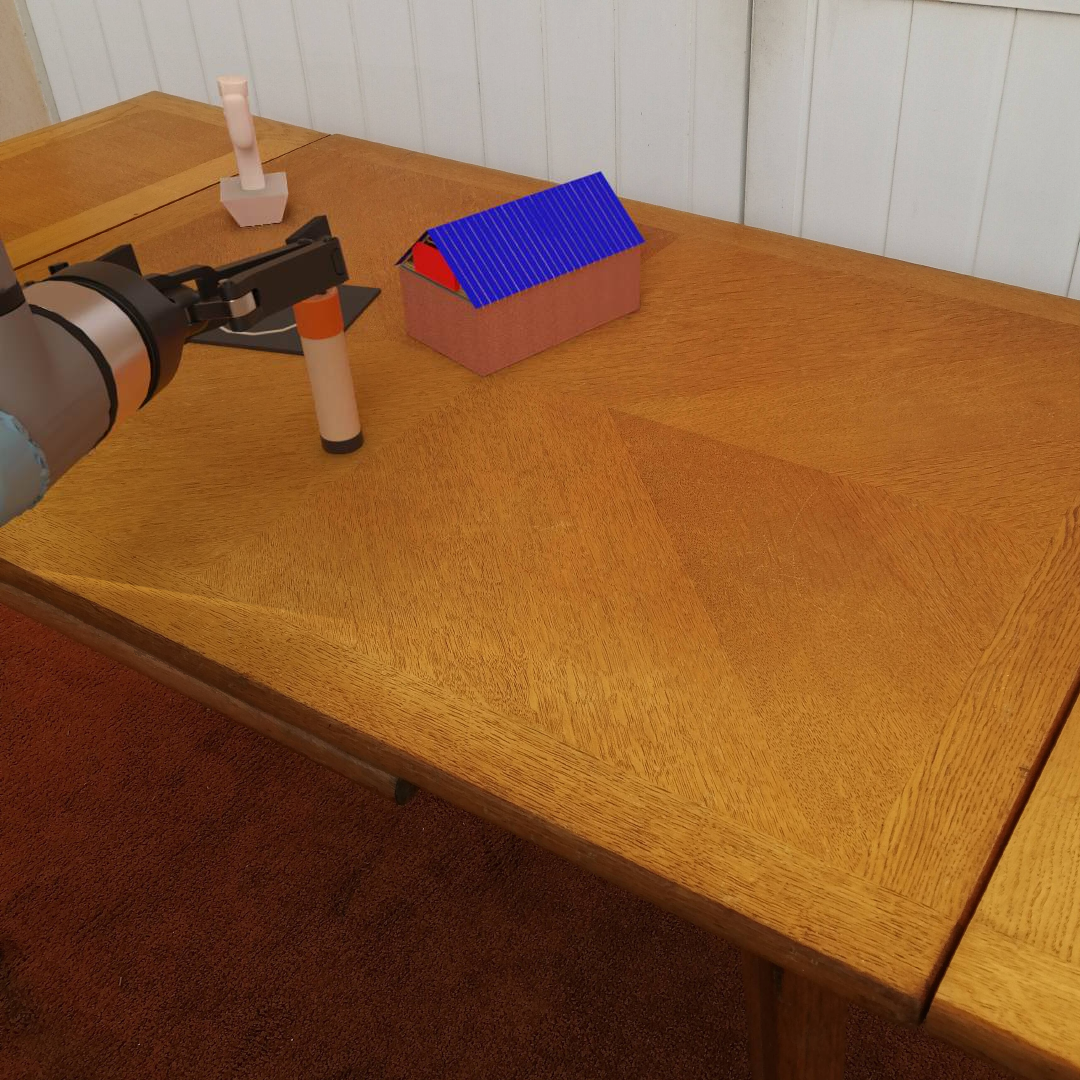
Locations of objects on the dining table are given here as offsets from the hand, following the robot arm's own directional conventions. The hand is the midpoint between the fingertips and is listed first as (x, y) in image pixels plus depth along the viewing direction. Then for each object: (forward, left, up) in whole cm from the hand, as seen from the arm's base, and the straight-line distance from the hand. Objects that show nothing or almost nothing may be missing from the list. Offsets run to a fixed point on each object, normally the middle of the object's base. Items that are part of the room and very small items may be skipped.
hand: (228, 250), depth 74 cm
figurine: (-27, +48, -19) cm, 58 cm away
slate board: (-15, +26, -18) cm, 35 cm away
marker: (+2, +6, -18) cm, 19 cm away
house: (+10, +30, -19) cm, 37 cm away
